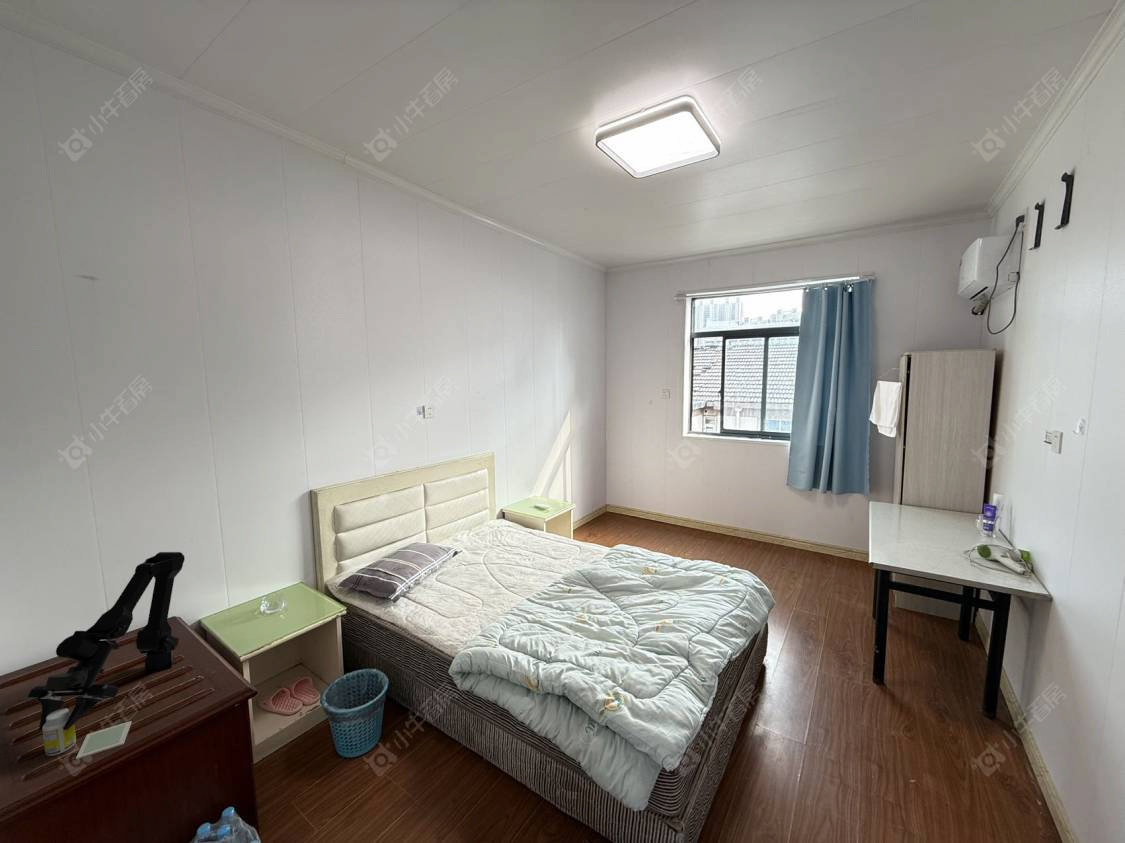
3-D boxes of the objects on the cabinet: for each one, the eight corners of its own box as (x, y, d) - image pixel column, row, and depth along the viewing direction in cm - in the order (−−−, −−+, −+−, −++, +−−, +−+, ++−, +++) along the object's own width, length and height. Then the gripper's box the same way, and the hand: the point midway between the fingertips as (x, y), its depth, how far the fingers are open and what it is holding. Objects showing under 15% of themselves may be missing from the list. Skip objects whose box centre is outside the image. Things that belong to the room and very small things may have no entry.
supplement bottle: (75, 736, 122) (72, 702, 121) (76, 747, 118) (73, 713, 117) (45, 748, 118) (41, 714, 116) (45, 761, 114) (41, 725, 113)
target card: (131, 722, 127) (131, 720, 127) (123, 744, 120) (123, 742, 120) (87, 735, 122) (87, 734, 122) (75, 759, 115) (75, 758, 115)
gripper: (30, 659, 118) (-15, 729, 109) (105, 658, 120) (67, 726, 110) (63, 666, 127) (24, 732, 117) (132, 665, 129) (100, 729, 119)
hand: (53, 730), depth 116 cm, fingers closed on supplement bottle, 6 cm apart
